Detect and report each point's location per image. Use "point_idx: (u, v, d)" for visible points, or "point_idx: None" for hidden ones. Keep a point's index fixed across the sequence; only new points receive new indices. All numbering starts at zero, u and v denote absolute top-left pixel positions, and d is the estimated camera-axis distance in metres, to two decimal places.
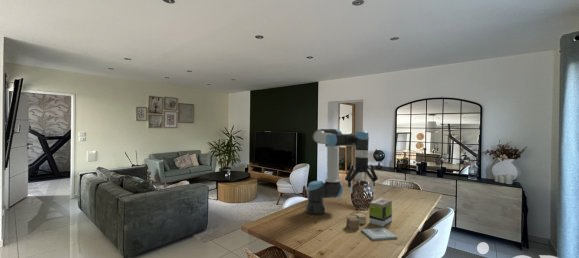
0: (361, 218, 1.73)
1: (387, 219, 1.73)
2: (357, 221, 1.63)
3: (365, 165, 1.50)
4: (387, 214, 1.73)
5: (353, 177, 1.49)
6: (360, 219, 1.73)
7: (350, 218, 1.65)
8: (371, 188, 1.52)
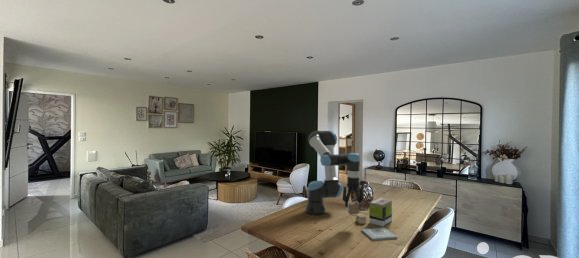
0: (361, 218, 1.73)
1: (387, 219, 1.73)
2: (357, 205, 1.63)
3: (357, 184, 1.65)
4: (387, 214, 1.73)
5: (349, 197, 1.64)
6: (360, 219, 1.73)
7: (350, 203, 1.65)
8: None
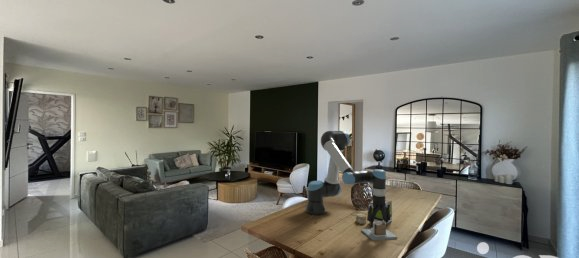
0: (361, 218, 1.73)
1: None
2: (384, 226, 1.52)
3: None
4: None
5: (374, 217, 1.53)
6: (360, 219, 1.73)
7: (376, 223, 1.54)
8: None
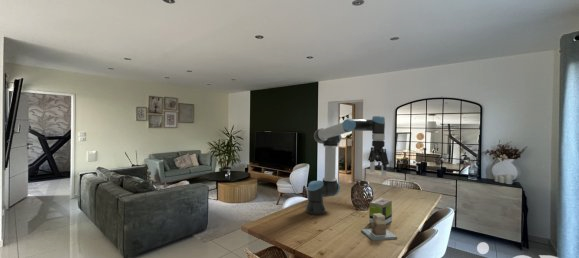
0: (379, 218, 1.52)
1: (387, 219, 1.73)
2: (384, 226, 1.52)
3: (378, 148, 1.58)
4: (387, 214, 1.73)
5: (371, 158, 1.66)
6: (378, 219, 1.52)
7: None
8: None
